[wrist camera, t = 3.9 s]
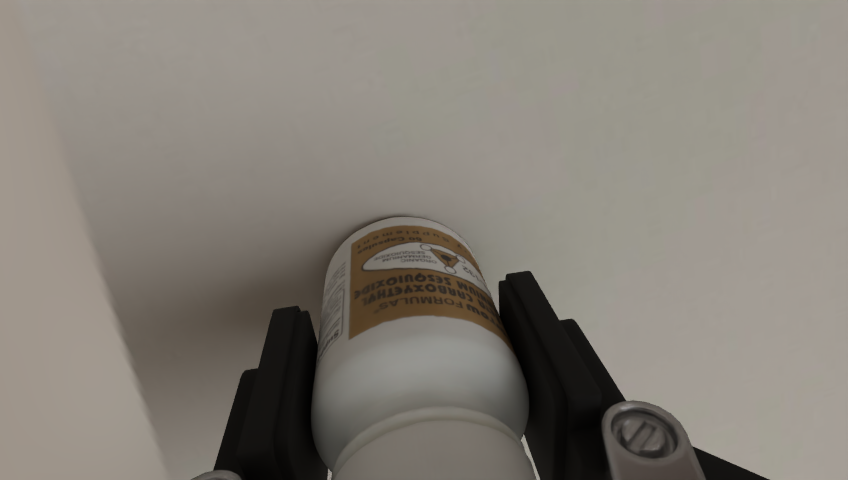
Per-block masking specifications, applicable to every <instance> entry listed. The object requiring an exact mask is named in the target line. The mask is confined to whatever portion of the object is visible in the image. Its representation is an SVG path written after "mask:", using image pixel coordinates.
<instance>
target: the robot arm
mask: <svg viewBox="0 0 848 480" xmlns="http://www.w3.org/2000/svg"><path fill="white" fill-rule="evenodd" d="M499 315H500V318H501V321H502V323H503V325H504V328H505V330H506V332H507V334H508V336H509V338H510V342H511V344H512V346H513V349H514V351H515V353H516V355H517V358H518V361H519V363H520V366H521V368H522V371H523V375H524V377H525V380H526V383H527V388H528V393H529V416H528V421H527V425H526V429H525V432H524V435H525V438H526V441H527V444H528V447H529V449H530V452H531V455H532V458H533V460H534V463H535V466H536V469H537V471H538V474H539V477H540V480H769V479H767V478H764V477H762V476H760V475H757V474H755V473H753V472H750V471H748V470H746V469H743V468H741V467H739V466H737V465H734V464H732V463H730V462H727V461H725V460H723V459H720V458H718V457H716V456H714V455H711V454H709V453H707V452H704V451H702V450H700V449H697V448H695V447H693V446H692V445H691V443H690V440H689V438H688V435H687V433H686V431H685V430H684V428H683V426H682V425H681V423H680V422H679V421H678V420H677V419H676V418H675V417H674V416H673V415H672V414H671V413H669V412H667V411H666V410H664V409H662V408H660V407H659V406H656V405H653V404H650V403H647V402H642V401H634V400H633V401H626V400H625V398H624V397H623V395H622V394H621V392H620V390H619V389H618V387H617V386H616V384H615V383H614V381H613V379H612V378H611V376H610V375H609V373H608V371H607V370H606V368H605V367H604V365H603V364H602V362H601V360H600V359H599V357H598V356H597V354H596V352H595V351H594V349H593V348H592V346H591V345H590V343H589V341H588V340H587V338H586V337H585V335H584V333H583V332H582V330H581V329H580V327H579V326H578V324H577V323H576V322H575V320H573V319H566V320H560V321H559V319H558V317H557V316H556V314H555V312H554V311H553V309H552V307H551V305H550V304H549V302H548V300H547V299H546V297H545V295H544V293H543V292H542V290H541V288H540V287H539V285H538V283H537V281H536V280H535V278H534V276H533V275H532V273H531V272H530V271H524V272H517V273H510V274H507V275H506V280H504V281H499ZM317 352H318V344H317V340H316V336H315V333H314V329H313V325H312V322H311V318H310V314H309V312H308V311H301V310H300V308H299V306H293V307H286V308H280V309H275V310H273V313H272V316H271V320H270V324H269V328H268V332H267V336H266V340H265V344H264V347H263V351H262V355H261V359H260V363H259V367H258V368H256V369H250V370H245V371H244V372H243V374H242V376H241V378H240V382H239V385H238V389H237V392H236V395H235V399H234V402H233V405H232V409H231V412H230V416H229V419H228V422H227V426H226V429H225V433H224V436H223V439H222V443H221V446H220V449H219V453H218V456H217V460H216V463H215V466H214V470H213V471H211V472H206V473H204V474H201V475H199V476H197V477H195V478H193V479H191V480H327V476H328V467H327V466H326V465H325V463H324V462H323V460H322V459H321V457H320V455H319V453H318V451H317V449H316V446H315V444H314V440H313V435H312V430H311V404H312V392H313V383H314V377H315V369H316V361H317Z"/></svg>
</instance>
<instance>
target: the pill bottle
mask: <svg viewBox="0 0 848 480" xmlns="http://www.w3.org/2000/svg"><path fill="white" fill-rule="evenodd" d="M528 416H529V393H528V388H527V383H526V380H525V377H524V375H523V371H522V368H521V366H520V363H519V361H518V358H517V355H516V353H515V351H514V349H513V346H512V344H511V342H510V338H509V336H508V334H507V332H506V330H505V328H504V325H503V323H502V321H501V318H500V316H499V314H498V312H497V310H496V307H495V305H494V302H493V300H492V297H491V293H490V291H489V290H488V287H487V285H486V283H485V280H484V278H483V276H482V274H481V271H480V269H479V266H478V264H477V262H476V259H475V257H474V255H473V253H472V251H471V250H470V248H469V246H468V245H467V244H466V243H465V241H464V240H463V239H462V238H461V237H459V236H458V235H457V234H456V233H455V232H454V231H452V230H450V229H449V228H447V227H445V226H443V225H441V224H439V223H436V222H433V221H430V220H427V219H422V218H414V217H393V218H388V219H385V220H381V221H378V222H375V223H372V224H370V225H368V226H366V227H364V228H362V229H360V230H358V231H357V232H355V233H354V234H352V235H351V236H350V237H349V238H348V239H347V240H345V241H344V242H343V244H342V245H341V246H340V247H339V249H338V250H337V251H336V253H335V254H334V256H333V258H332V260H331V262H330V264H329V267H328V270H327V274H326V278H325V286H324V294H323V302H322V311H321V320H320V331H319V340H318V352H317V361H316V369H315V377H314V383H313V392H312V404H311V430H312V435H313V440H314V444H315V446H316V449H317V451H318V453H319V455H320V457H321V459H322V460H323V462H324V463H325V465H326V466H327V467H328V469H329V470H330V471H331V472H332V478H331V480H536V477H535V474H534V470H533V467H532V464H531V461H530V460H529V458H528V456H527V455H526V453H525V450H524V447H523V444H522V442H521V439H522V436H523V434H524V432H525V429H526V425H527V421H528Z"/></svg>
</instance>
